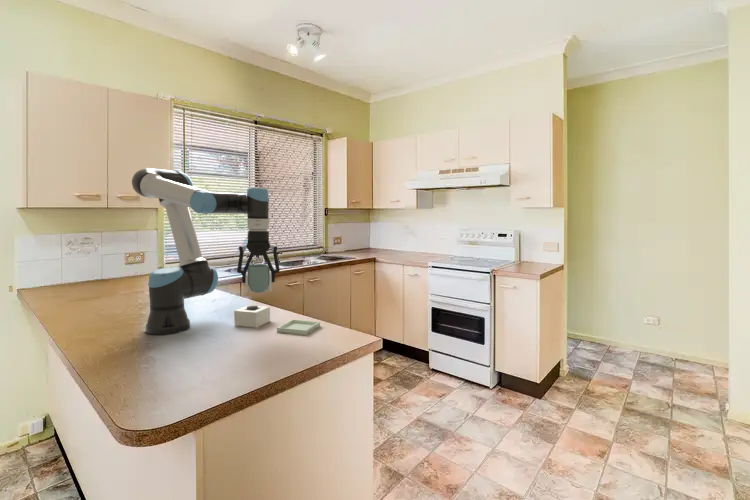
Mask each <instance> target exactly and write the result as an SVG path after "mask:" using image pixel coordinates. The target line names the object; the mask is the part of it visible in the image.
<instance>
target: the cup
mask: <svg viewBox="0 0 750 500" xmlns="http://www.w3.org/2000/svg"><path fill="white" fill-rule="evenodd" d="M270 273H271V271H270V269H269V266H268V264H267V263H266V264H265V263H263V264H262V263H257V264H250V265H249V266H248V269H247V274H248V290H250V292H252V293H253V294H254V293H255V294H260V293H261V294H262V293H265V292H267V291H268V289H269V274H270Z"/></svg>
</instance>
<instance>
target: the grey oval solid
mask: <svg viewBox="0 0 750 500" xmlns="http://www.w3.org/2000/svg"><path fill="white" fill-rule="evenodd" d="M247 306H248V305H247ZM258 306H259V305H254V306H248V307H247V310H253V311H254V310H257V309H258Z"/></svg>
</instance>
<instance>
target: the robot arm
mask: <svg viewBox="0 0 750 500" xmlns="http://www.w3.org/2000/svg"><path fill="white" fill-rule="evenodd" d="M131 185H132V189H133V190H134V192H136V194H138V195H139V196H142V197H145V198H149V199H158V201H159V204H160V206H162V207H164V208H165V212H166V216H167V219H168V222H169V226H170V230H171V233H172V237H173V240H174V244H175V249H176V252H177V256H178V259H179V264H178V266H170V267H163V268H159V269H155V270H153V271H152V272H150V274H149V275H148V283H147V284H148V292H149V293H148V294H149V313H148V318H147V323H146V324H145V333H147V334H148V335H155V336H158V335H161V336H162V335H164V336H165V335H171V334H176V333H177V334H178V333H181V332H183V331H184V332H185V331H187V330H188V329H189V328H190V327H191V320H190V319H189V317H188V314H187V311H186V308H185V299H191V298H195V297H199V296H206V295H207V294H210V293H212V292H214V290H215V289H216V287H217V285H218V283H219V275H218V272H217V269H216V268H215V267H214V266H211V265H209V262H208V260H207V259H206V258H204V256H203V255H202V251H201V247H200V243H199V240H198V238H197V233H196V230H195V226H194V223H193V219H192V215H191V211H190V209H192V210H193V211H194V212H195V213H197V214H203V215H206V214H207V215H209V214H226V215H227V214H229V215H233V214H234V215H236V214H240V215H241V214H242V215H243V214H244V215H245V214H246V216H247V219H246V221H247V223H246V224H247V229H248V231H247V243H246V244H245V245H240V246H238V250H239V256H238V262H237V263H238V264H237V270H236V272H237V274H241V276H242V279H241V281H242V284H245V293H249V285H248V266H249V265H251V263H252V260H253V258H254V256H256V257H257V256H263V258H264V260H265V262H266V264H267V265H268V266H269V269H270V274H269V287H268V289H269V292H273V291H272V290H273V289H272V288H273V287H272V284H273V283H275V281H276V279H275V278H276V276H275V275H276V274H277V273H280V264H279V259H278V253H277V252H278V251H277V250H278V245H271V244H270V238H269V237H270V231H268V230H269V228H270V219H269V218H270V217H269V212H270V211H269V203H270V200H269V198H270V197H269V191H268V189H267V188H264V187H248V188H247V190H246V193H235V192H234V193H233V192H218V191H210V190H206V189H203V188H199V187H195V186H194V184H193V181H192V179H191V178H190V176H189V175H188V174H187V173H185V172H183V171H178V170H176V169H175V170H174V169H172V170H170V169H162V168H152V167H151V168H150V167H146V168H141V169H140V170H138V171H136V172H135V173H134V175H133V176H132V179H131ZM270 249H271V251H272V254H273V259H274V265H275V268H274V267H273V264H272V262H271V259H270V258H269V255H268V251H269V250H270ZM246 250H248V251H249V255H248V258H247V261H246V264H245V265H244V267H243V261H244V253H245V251H246ZM242 267H243V269H242Z"/></svg>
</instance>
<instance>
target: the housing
mask: <svg viewBox="0 0 750 500" xmlns="http://www.w3.org/2000/svg"><path fill="white" fill-rule="evenodd" d="M248 306H255V305H253V304H251V305H250V304H248V305H246V306H243V307H240V308H238V309H235V310H234V311H233V314H234V326H237V327H238V326H239V327H245V328H247V327H248V328H260V327H261V326H262V325H264V324H266V323H269V322H270V321H271V307H270V306H265V305H264V306H263V305H257V306H258V309H257V310H254V311H253V310H247V307H248Z"/></svg>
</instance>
